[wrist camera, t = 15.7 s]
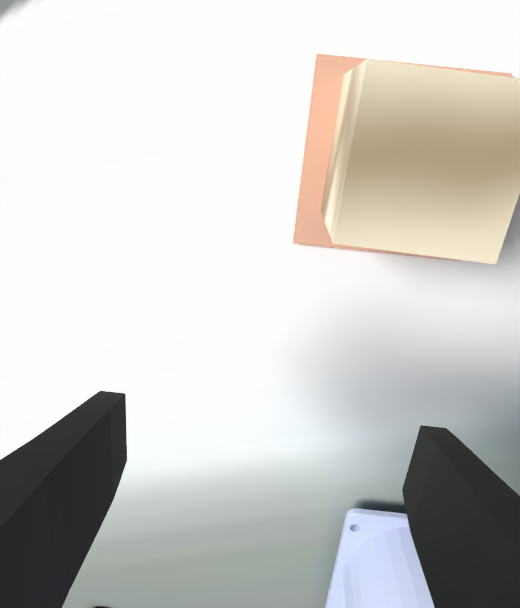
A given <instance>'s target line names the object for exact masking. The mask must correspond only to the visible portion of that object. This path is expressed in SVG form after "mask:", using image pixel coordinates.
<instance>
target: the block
mask: <svg viewBox="0 0 520 608" xmlns="http://www.w3.org/2000/svg"><path fill="white" fill-rule="evenodd" d="M519 195H520V78H512V77H505V76H497V75H489V74H481V73H474V72H466V71H458V70H451V69H443V68H435V67H428V66H420V65H412V64H404V63H397V62H389V61H381V60H374V59H366V60H365V61H363V62H362V63H360V64H359V65H357V66H356V67H354V68H353V69H351V70H350V71H348V72H347V73H345V74H344V77H343V83H342V89H341V95H340V100H339V106H338V112H337V118H336V124H335V130H334V135H333V141H332V147H331V153H330V159H329V165H328V170H327V176H326V182H325V188H324V194H323V200H322V205H321V214H322V216H323V219H324V222H325V224H326V227H327V229H328V232H329V235H330V237H331V240H332V243H333V244H340V245H348V246H356V247H364V248H371V249H379V250H387V251H395V252H402V253H410V254H418V255H426V256H433V257H441V258H449V259H457V260H464V261H472V262H480V263H488V264H495V265H496V263H497V260H498V257H499V254H500V251H501V248H502V245H503V242H504V239H505V236H506V233H507V230H508V227H509V224H510V221H511V218H512V215H513V212H514V209H515V206H516V203H517V200H518V198H519Z"/></svg>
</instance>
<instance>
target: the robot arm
mask: <svg viewBox="0 0 520 608" xmlns="http://www.w3.org/2000/svg"><path fill="white" fill-rule="evenodd" d="M126 461H127V445H126V405H125V394H124V393H114V392H105V391H100V392H98V393H97V394H95V395H94V396H93V397H91V398H90V399H88V400H87V401H86V402H84V403H83V404H81V405H80V406H79V407H77V408H76V409H75V410H73V411H72V412H71V413H69V414H68V415H66V416H65V417H64V418H62V419H61V420H59V421H58V422H57V423H55V424H54V425H52V426H51V427H50V428H48V429H47V430H45V431H44V432H42V433H41V434H40V435H38V436H37V437H35V438H34V439H32V440H31V441H29V442H28V443H26V444H25V445H23V446H21V447H20V448H18V449H17V450H15V451H14V452H12V453H11V454H9V455H7V456H6V457H4V458H3V459H1V460H0V608H62V606H63V604H64V601H65V599H66V597H67V595H68V592H69V590H70V588H71V586H72V584H73V582H74V580H75V578H76V576H77V574H78V572H79V570H80V568H81V565H82V563H83V561H84V559H85V557H86V555H87V553H88V551H89V549H90V547H91V545H92V543H93V541H94V539H95V537H96V535H97V533H98V531H99V528H100V526H101V524H102V522H103V520H104V518H105V516H106V514H107V512H108V510H109V508H110V505H111V503H112V501H113V499H114V496H115V493H116V491H117V488H118V485H119V482H120V479H121V476H122V473H123V470H124V467H125V464H126ZM402 491H403V496H404V502H405V508H406V513H407V514H404V513H394V512H385V511H376V510H367V509H358V508H354V509H351V510H349V511H348V512H347V514H346V517H345V522H344V526H343V530H342V535H341V539H340V544H339V548H338V552H337V557H336V561H335V565H334V570H333V574H332V579H331V583H330V587H329V592H328V596H327V600H326V605H325V608H520V496H519V495H518V494H517V493H516V492H515V491H513V490H512V489H511V488H510V487H509V486H508V485H507V484H506V483H505V482H504V481H502V480H501V479H500V478H499V477H498V476H497V475H496V474H495V473H494V472H493V471H492V470H491V469H490V468H489V467H487V466H486V465H485V464H484V463H483V462H482V461H481V460H480V459H479V458H478V457H477V456H476V455H475V454H474V453H473V452H472V451H471V450H470V449H468V448H467V447H466V446H465V445H464V444H463V443H462V442H461V441H460V440H459V439H458V438H457V437H456V436H454V435H453V434H452V433H451V432H450V431H449V430H448V429H446V428H439V427H430V426H421V427H420V430H419V434H418V437H417V441H416V444H415V448H414V451H413V455H412V458H411V462H410V465H409V469H408V472H407V476H406V479H405V483H404V486H403V490H402ZM354 524H356V525H354Z"/></svg>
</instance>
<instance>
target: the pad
mask: <svg viewBox="0 0 520 608" xmlns="http://www.w3.org/2000/svg"><path fill="white" fill-rule="evenodd" d="M365 60H366V59H362V58H352V57H342V56H332V55H323V54H317V57H316V65H315V72H314V80H313V88H312V96H311V104H310V112H309V120H308V128H307V136H306V144H305V151H304V159H303V167H302V175H301V183H300V191H299V199H298V207H297V215H296V223H295V230H294V238H293V243H296V244H305V245H315V246H324V247H334V248H343V249H353V250H362V251H372V252H381V253H391V254H400V255H410V256H419V257H429V258H438V259H448V260H457V259H449V258H441V257H433V256H426V255H418V254H410V253H402V252H395V251H387V250H379V249H371V248H364V247H356V246H348V245H340V244H333V243H332V240H331V237H330V235H329V232H328V229H327V227H326V224H325V222H324V219H323V216H322V214H321V205H322V200H323V194H324V188H325V182H326V176H327V170H328V165H329V159H330V153H331V147H332V141H333V135H334V130H335V124H336V118H337V112H338V106H339V100H340V95H341V89H342V83H343V77H344V74H345V73H347V72H348V71H350V70H351V69H353V68H354V67H356V66H357V65H359V64H360V63H362V62H363V61H365ZM381 61H382V60H381ZM389 62H391V61H389ZM397 63H401V62H397ZM404 64H411V63H404ZM412 65H420V66H428V67H435V68H443V69H451V70H458V71H466V72H474V73H481V74H489V75H497V76H505V77H512V74H509V73H499V72H489V71H480V70H470V69H460V68H450V67H440V66H431V65H421V64H412ZM457 261H460V260H457Z"/></svg>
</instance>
